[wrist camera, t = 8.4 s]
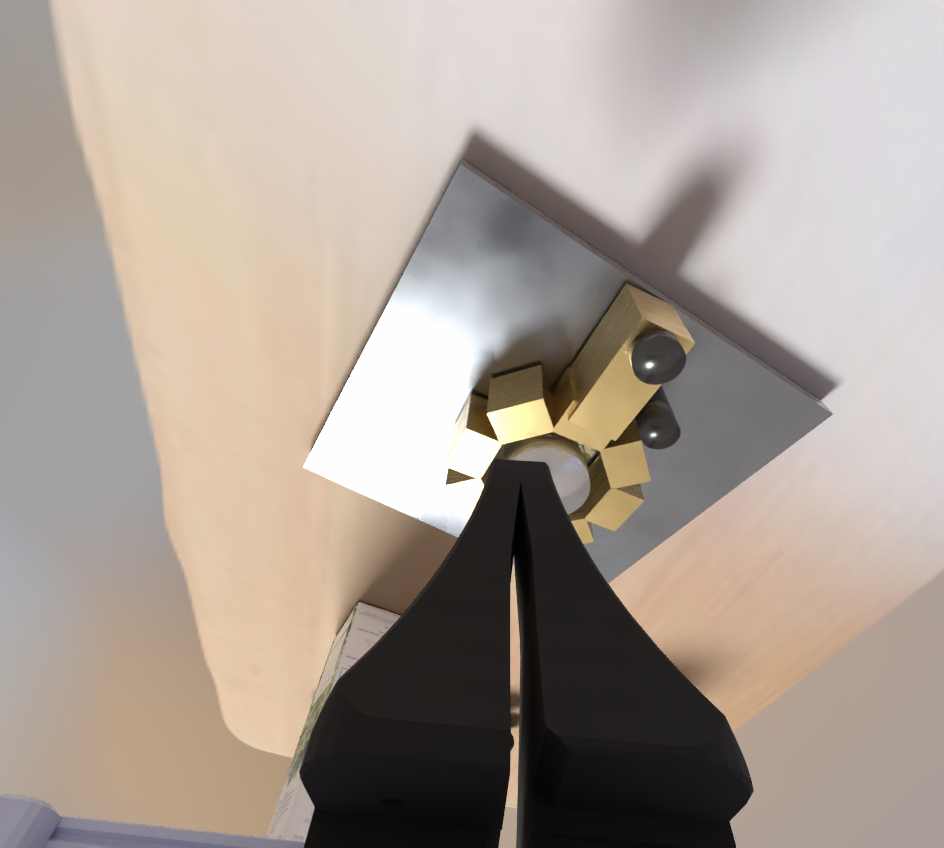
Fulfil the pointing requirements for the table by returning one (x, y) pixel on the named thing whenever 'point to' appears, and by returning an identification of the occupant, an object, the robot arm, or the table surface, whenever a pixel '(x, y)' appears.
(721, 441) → the grey metal base plate
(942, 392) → the table surface
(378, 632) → the syrup box
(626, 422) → the brass block wheel
